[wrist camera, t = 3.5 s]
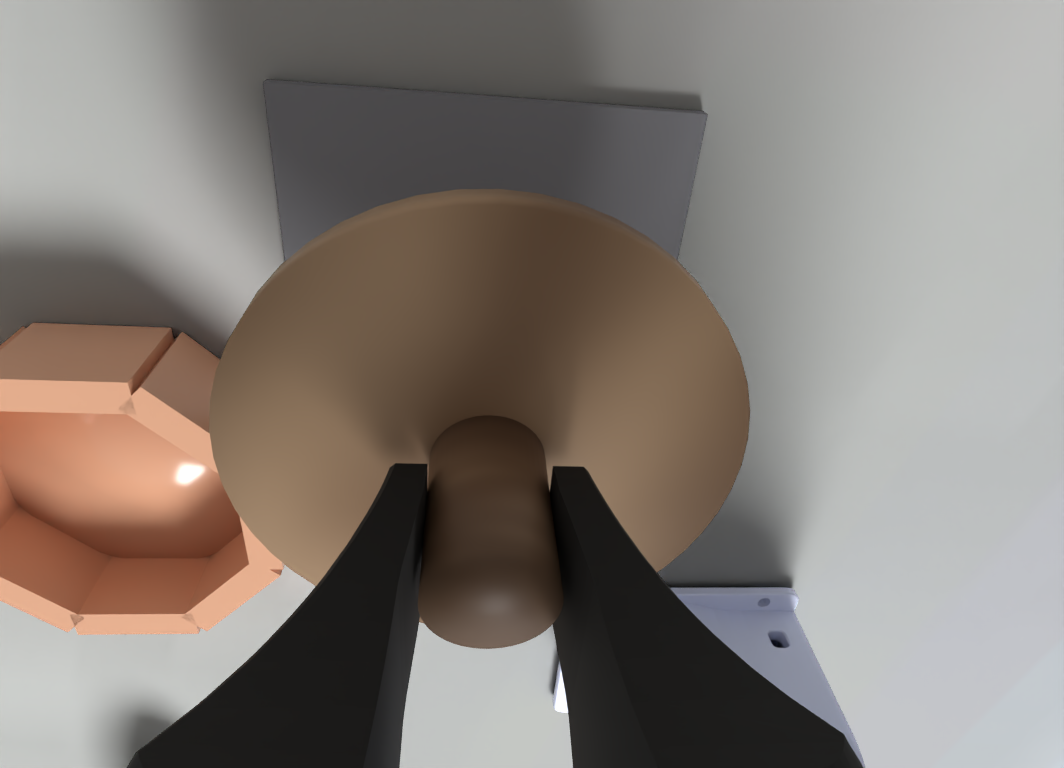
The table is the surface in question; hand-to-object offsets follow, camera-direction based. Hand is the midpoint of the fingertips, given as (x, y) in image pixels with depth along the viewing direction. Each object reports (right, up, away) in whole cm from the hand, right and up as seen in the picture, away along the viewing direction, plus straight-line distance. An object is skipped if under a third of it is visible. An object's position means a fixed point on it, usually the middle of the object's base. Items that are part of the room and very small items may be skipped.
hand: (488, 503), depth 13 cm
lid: (0, +1, +1) cm, 2 cm away
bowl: (-12, 0, +9) cm, 15 cm away
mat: (-1, +5, +7) cm, 8 cm away
